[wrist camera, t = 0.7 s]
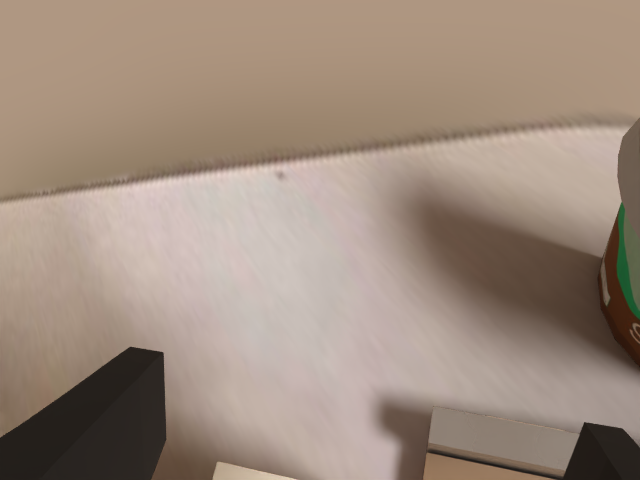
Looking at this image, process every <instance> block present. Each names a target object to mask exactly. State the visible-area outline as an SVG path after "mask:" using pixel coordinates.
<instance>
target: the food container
mask: <svg viewBox="0 0 640 480" xmlns="http://www.w3.org/2000/svg"><path fill="white" fill-rule="evenodd" d="M617 177H618V183H619V189H620V194H621V200H622V202H621V205H620V208H619V211H618V214H617V217H616V220H615V223H614V226H613V229H612V232H611V235H610V238H609V241H608V243H607V246H606V249H605V252H604V255H603V258H602V262H601V266H600V271H599V275H598V287H599V296H600V306H601V310H602V312H603V314H604V316H605V319H606V321H607V323H608V325H609V327H610V329H611V332H612V334H613V336H614V338H615V340H616V341H617V342H618V343H619V344H620V345H621V347H622V348H623V349H624V350H625V351H626V352H627V353H628V355H629V356H630V357H631V358H632V359H633V360H634V361H635V363H636V364H637V365H638V366H639V367H640V118H639V119H638V120H637V121H636V123H635V124H634V125H633V126H632V127H631V128H630V129H629V130H628V132H627V133H626V134H625V135H624V136H623V138H622V142H621V146H620V150H619V154H618V176H617Z"/></svg>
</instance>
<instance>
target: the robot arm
mask: <svg viewBox="0 0 640 480" xmlns="http://www.w3.org/2000/svg"><path fill="white" fill-rule="evenodd" d="M165 441H166V416H165V385H164V353H163V352H159V351H152V350H146V349H140V348H134V347H129V348H128V349H126V350H125V351H124V352H122V353H121V354H119V355H118V356H116V357H115V358H114V359H112V360H111V361H109V362H108V363H107V364H105V365H104V366H102V367H101V368H100V369H98V370H97V371H96V372H94V373H93V374H91V375H90V376H89V377H87V378H86V379H85V380H83V381H82V382H80V383H79V384H78V385H76V386H75V387H74V388H72V389H71V390H69V391H68V392H67V393H65V394H64V395H62V396H61V397H60V398H58V399H57V400H55V401H54V402H52V403H51V404H50V405H48V406H47V407H45V408H44V409H42V410H41V411H40V412H38V413H37V414H35V415H34V416H32V417H31V418H30V419H28V420H27V421H25V422H24V423H22V424H21V425H19V426H18V427H16V428H15V429H13V430H11V431H10V432H8V433H7V434H5V435H4V436H2V437H1V438H0V480H151V478H152V475H153V473H154V470H155V468H156V465H157V462H158V460H159V457H160V454H161V452H162V449H163V446H164V444H165ZM562 480H640V447H639V446H638V445H637V444H636V443H635V441H634V440H633V439H632V438H631V437H630V436H629V435H628V434H627V433H626V432H625V431H624V430H623V429H622V428H616V427H610V426H604V425H598V424H592V423H586V422H584V425H583V427H582V430H581V432H580V435H579V438H578V440H577V443H576V445H575V448H574V450H573V453H572V456H571V458H570V461H569V463H568V466H567V468H566V471H565V474H564V476H563V479H562Z"/></svg>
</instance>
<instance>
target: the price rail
mask: <svg viewBox="0 0 640 480" xmlns="http://www.w3.org/2000/svg"><path fill="white" fill-rule="evenodd" d="M579 435H580V434H577V433H571V432H566V431H565V430H560V429H554V428H549V427H544V426H539V425H534V424H528V423H523V422H518V421H513V420H508V419H502V418H497V417H492V416H487V415H485V416H483V415H478V414H473V413H467V412H462V411H457V410H452V409H447V408H441V407H436V406H433V411H432V417H431V423H430V430H429V438H428V445H427V452H426V454H427V453H431V454H436V455H441V456H445V457H450V458H455V459H460V460H465V461H469V462H474V463H479V464H484V465H489V466H493V467H498V468H503V469H508V470H512V471H517V472H522V473H527V474H532V475H536V476H541V477H546V478H551V479H556V480H562V479H563V476H564V474H565V471H566V468H567V466H568V463H569V461H570V458H571V456H572V453H573V450H574V448H575V445H576V443H577V440H578V438H579ZM638 446H639V445H638ZM639 447H640V446H639Z"/></svg>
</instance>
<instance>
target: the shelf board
mask: <svg viewBox="0 0 640 480" xmlns="http://www.w3.org/2000/svg"><path fill="white" fill-rule="evenodd" d="M423 480H556V479H551V478H546V477H541V476H536V475H532V474H527V473H522V472H517V471H512V470H508V469H503V468H498V467H493V466H489V465H484V464H479V463H474V462H469V461H465V460H460V459H455V458H450V457H445V456H441V455H436V454H431V453H427V454H426V460H425V467H424V474H423Z"/></svg>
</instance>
